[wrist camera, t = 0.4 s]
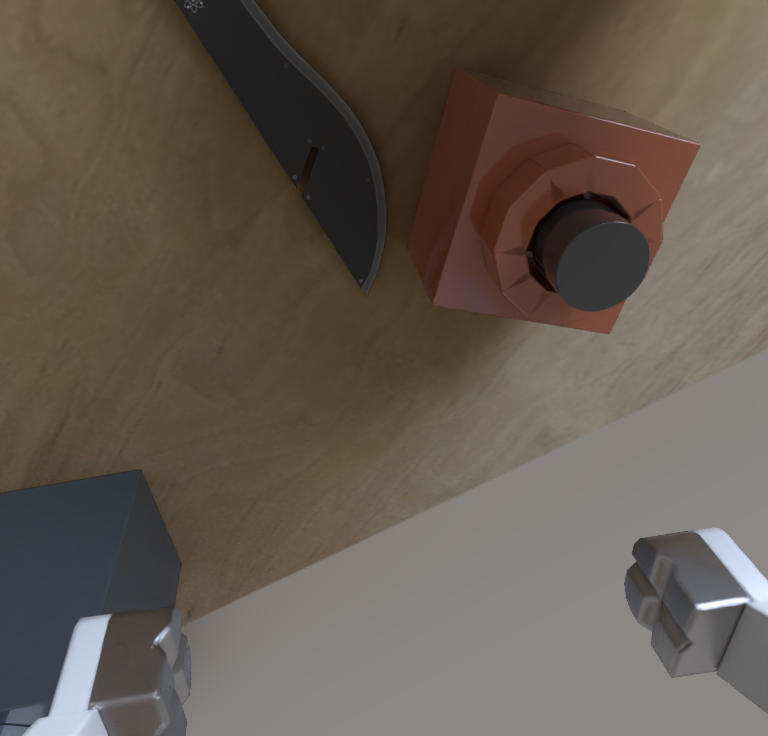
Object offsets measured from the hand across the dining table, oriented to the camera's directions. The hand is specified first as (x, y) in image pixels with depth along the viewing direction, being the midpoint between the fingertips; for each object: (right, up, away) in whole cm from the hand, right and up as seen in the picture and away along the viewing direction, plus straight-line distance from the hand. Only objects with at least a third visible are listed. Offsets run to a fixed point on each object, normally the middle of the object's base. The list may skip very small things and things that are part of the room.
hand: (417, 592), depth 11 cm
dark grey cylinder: (+6, +8, +11) cm, 16 cm away
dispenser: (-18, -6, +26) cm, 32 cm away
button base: (+5, +13, +18) cm, 22 cm away
